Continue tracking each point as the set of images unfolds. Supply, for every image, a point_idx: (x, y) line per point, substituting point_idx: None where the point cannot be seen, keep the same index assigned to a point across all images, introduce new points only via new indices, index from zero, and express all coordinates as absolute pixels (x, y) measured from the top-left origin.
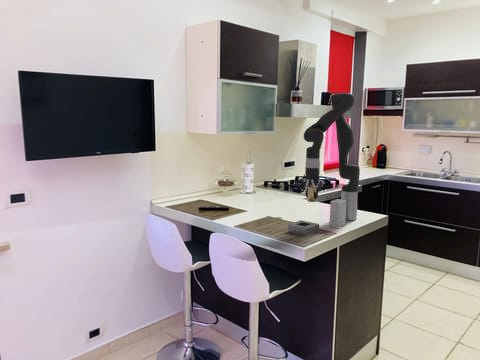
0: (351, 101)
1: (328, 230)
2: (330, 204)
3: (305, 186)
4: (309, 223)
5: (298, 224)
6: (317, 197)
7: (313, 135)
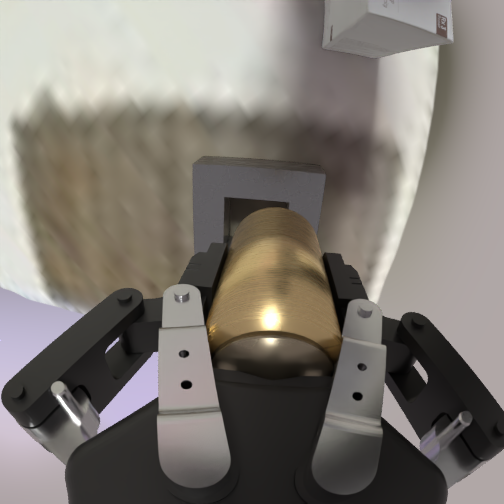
0: None
1: (353, 125)
2: (360, 19)
3: (121, 323)
4: (272, 196)
5: (224, 229)
6: (350, 271)
7: None
